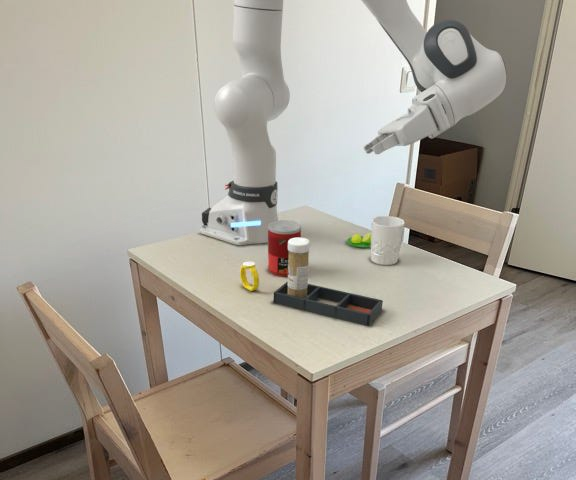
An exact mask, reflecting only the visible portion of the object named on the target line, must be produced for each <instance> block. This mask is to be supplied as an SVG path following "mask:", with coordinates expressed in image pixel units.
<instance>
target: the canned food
mask: <svg viewBox="0 0 576 480" xmlns="http://www.w3.org/2000/svg"><path fill="white" fill-rule="evenodd" d="M297 237H300V238H302V225H301V224H300V223H299V222H297V221H294V220H286V219H285V220H284V219H283V220H282V219H281V220H278V221H274V222H271V223H270V224H269V225H268V242H267V264H268V265H267V267H268V271H269V272H270V274H272V275H275V276H278V277H288V259H289V252H288V241H289V240H290V239H292V238H297Z"/></svg>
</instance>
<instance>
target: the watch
mask: <svg viewBox="0 0 576 480" xmlns="http://www.w3.org/2000/svg"><path fill="white" fill-rule="evenodd" d="M247 270H249V271H250V273H251V276H252V282H253V285H250V282H249V281H248V278H247ZM239 277H240V281H241V284H242V286H243V288H245V289H247V290H248V291H250V292H253V291H257V289H258V288H259V287H260V276H259V272H258V270H257V268H256V263H255V262H254V261H244V262H243V263H242V265H241V266H240V270H239Z"/></svg>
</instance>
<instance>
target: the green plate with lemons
mask: <svg viewBox="0 0 576 480" xmlns="http://www.w3.org/2000/svg"><path fill="white" fill-rule="evenodd" d="M346 242H347V244H349V245H350V246H352V247H355V248H358V249H359V248H360V249H361V248H362V249H367V248H371V232H367V233H366V234H364V236H363V235H360V234H359V233H355V234H353V235H352V236H351V237H348V238H347V239H346Z"/></svg>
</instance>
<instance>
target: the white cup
mask: <svg viewBox="0 0 576 480" xmlns="http://www.w3.org/2000/svg"><path fill="white" fill-rule="evenodd" d="M405 223H406V222H405V220H404V219H402V218H400V217H397V216H394V215H393V216H392V215H378V216H375V217H373V218H372V219H371V227H370V228H371V229H370V234H371V247H370V261H371V262H372V263H375V264H376V265H381V266H390V265H395V264H396V263H397V262H398V260H399V259H398V258H399V253H400V250H401V246H402V240H403V236H404V235H403V234H404V229H405Z"/></svg>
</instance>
